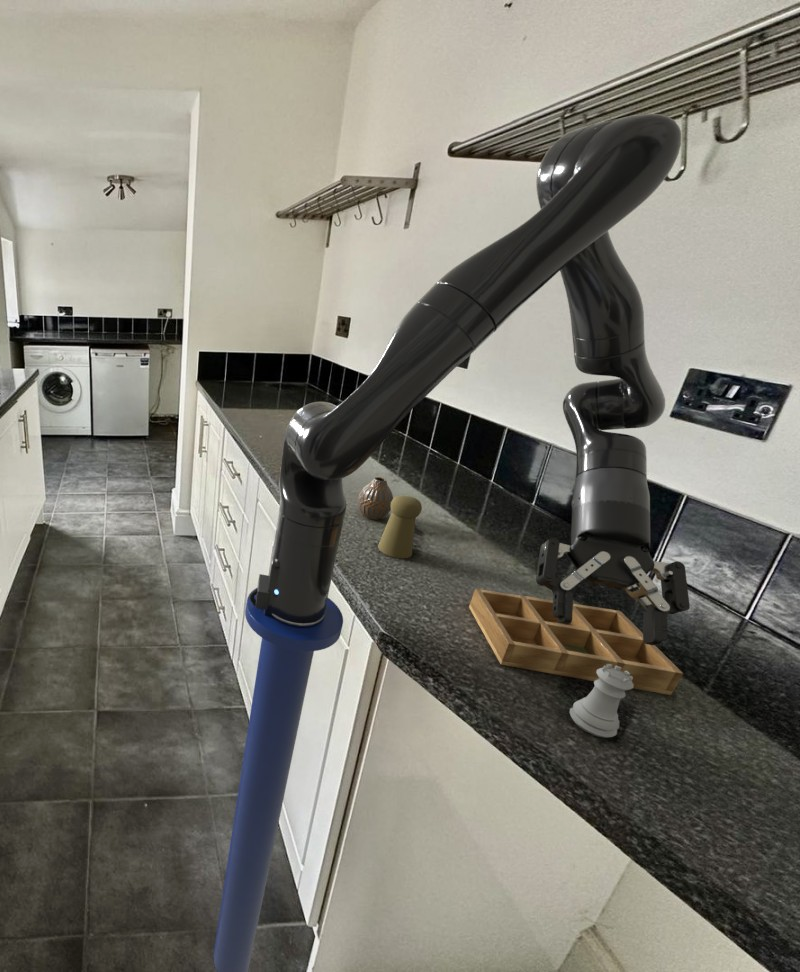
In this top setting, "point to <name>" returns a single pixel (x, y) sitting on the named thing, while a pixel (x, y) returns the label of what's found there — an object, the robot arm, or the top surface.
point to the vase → (375, 499)
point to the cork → (400, 527)
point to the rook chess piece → (602, 702)
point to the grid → (570, 640)
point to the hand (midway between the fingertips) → (607, 633)
